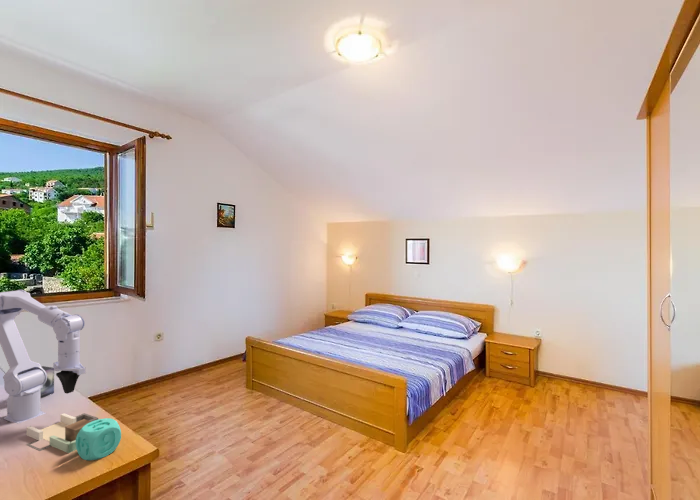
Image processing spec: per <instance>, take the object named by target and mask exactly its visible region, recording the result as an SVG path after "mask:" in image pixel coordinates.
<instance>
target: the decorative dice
mask: <svg viewBox="0 0 700 500" xmlns="http://www.w3.org/2000/svg"><path fill="white" fill-rule="evenodd" d="M121 440H122V430H121V427H120V425H119V423H118V421H117V420H115V419H114V418H109V417H108V418H107V417H105V418H98V420H95V421H92V422H90V423H88V424H86V425H85V426H84V427H83V428H82V429H81V430H80V431H79V433H78V434H77V437H76V449H77V450H76V452H77V454H78V455H79V457H80V458H81V459H82V460H84V461H97V460H100V459H103V458H105V457H107V456H109V455H111V454H112V453H113V452H114V451H115V450H116V449H117V448H118V446H119V444H120V442H121Z"/></svg>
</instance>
